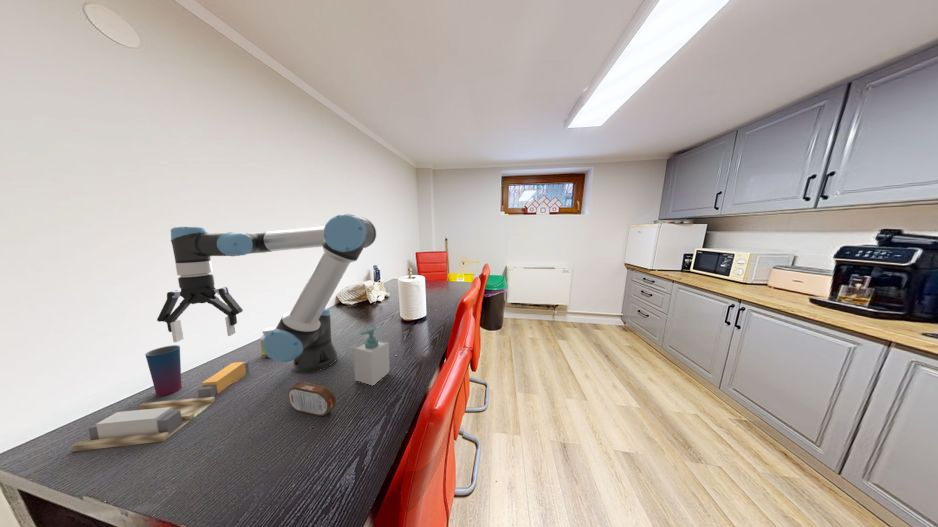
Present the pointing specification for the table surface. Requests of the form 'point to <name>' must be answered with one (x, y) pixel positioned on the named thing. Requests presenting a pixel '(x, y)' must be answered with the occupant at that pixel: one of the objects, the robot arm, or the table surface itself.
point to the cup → (165, 369)
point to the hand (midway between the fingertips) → (205, 337)
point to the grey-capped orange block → (223, 379)
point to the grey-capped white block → (136, 423)
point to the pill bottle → (265, 332)
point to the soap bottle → (371, 359)
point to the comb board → (188, 412)
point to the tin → (311, 398)
